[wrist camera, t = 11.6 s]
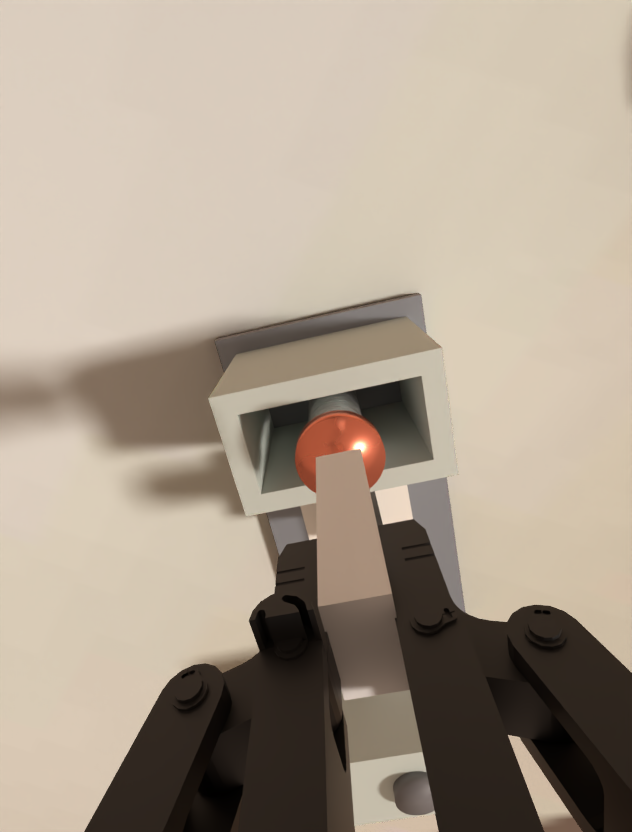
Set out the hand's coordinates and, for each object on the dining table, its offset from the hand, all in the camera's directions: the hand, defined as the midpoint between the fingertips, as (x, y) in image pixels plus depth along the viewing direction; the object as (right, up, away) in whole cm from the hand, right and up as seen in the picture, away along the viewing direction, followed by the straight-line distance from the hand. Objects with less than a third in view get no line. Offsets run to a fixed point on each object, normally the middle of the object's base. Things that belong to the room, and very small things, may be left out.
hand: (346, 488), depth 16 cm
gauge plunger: (0, +4, +11) cm, 12 cm away
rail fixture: (+2, -6, +17) cm, 19 cm away
